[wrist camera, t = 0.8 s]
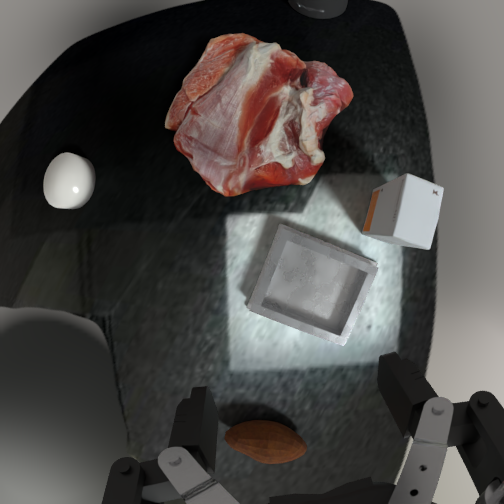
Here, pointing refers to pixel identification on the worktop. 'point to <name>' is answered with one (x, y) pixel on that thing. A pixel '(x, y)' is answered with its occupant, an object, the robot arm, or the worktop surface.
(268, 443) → the potato
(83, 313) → the worktop surface
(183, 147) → the meat
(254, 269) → the worktop surface
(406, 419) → the robot arm
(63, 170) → the white domed puck
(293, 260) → the tray
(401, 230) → the skincare box
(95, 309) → the worktop surface
